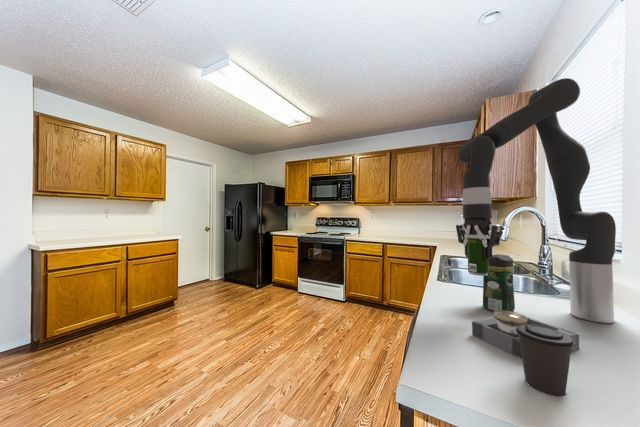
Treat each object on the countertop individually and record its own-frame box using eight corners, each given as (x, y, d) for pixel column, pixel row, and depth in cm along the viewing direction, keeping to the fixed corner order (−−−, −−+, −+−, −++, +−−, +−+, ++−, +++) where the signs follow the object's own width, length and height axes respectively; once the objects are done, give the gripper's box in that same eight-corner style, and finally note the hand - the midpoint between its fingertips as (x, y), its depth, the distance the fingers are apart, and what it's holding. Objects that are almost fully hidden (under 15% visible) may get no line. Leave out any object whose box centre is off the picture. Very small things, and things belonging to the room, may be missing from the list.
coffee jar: (492, 303, 91) (491, 252, 91) (518, 310, 84) (517, 255, 85) (478, 308, 86) (477, 253, 86) (505, 315, 79) (504, 256, 80)
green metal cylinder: (483, 276, 72) (482, 235, 73) (464, 273, 77) (463, 234, 77) (492, 274, 75) (491, 234, 76) (473, 271, 80) (472, 234, 80)
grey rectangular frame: (519, 327, 70) (519, 314, 70) (579, 349, 58) (578, 334, 58) (472, 334, 65) (472, 321, 65) (527, 361, 53) (526, 344, 53)
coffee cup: (505, 371, 49) (504, 319, 49) (548, 373, 48) (546, 320, 49) (540, 401, 41) (539, 338, 41) (592, 403, 40) (590, 340, 41)
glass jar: (506, 336, 64) (506, 309, 64) (534, 348, 58) (534, 318, 58) (488, 339, 62) (487, 311, 62) (515, 352, 56) (514, 321, 56)
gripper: (509, 201, 71) (511, 261, 71) (465, 205, 85) (466, 255, 84) (490, 201, 69) (491, 263, 68) (448, 204, 82) (449, 256, 82)
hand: (477, 258), depth 76 cm, fingers closed on green metal cylinder, 5 cm apart
